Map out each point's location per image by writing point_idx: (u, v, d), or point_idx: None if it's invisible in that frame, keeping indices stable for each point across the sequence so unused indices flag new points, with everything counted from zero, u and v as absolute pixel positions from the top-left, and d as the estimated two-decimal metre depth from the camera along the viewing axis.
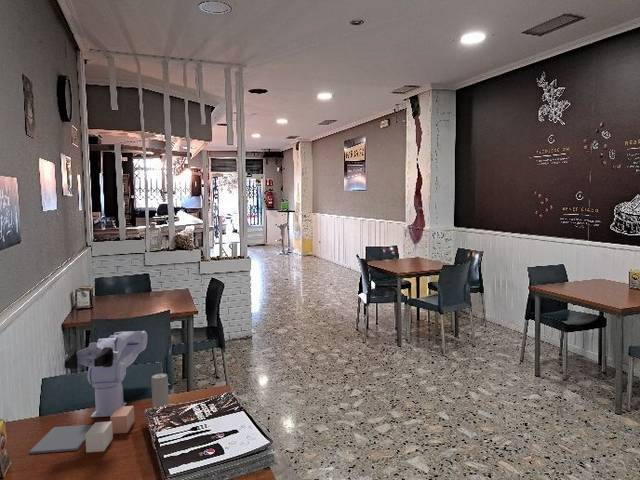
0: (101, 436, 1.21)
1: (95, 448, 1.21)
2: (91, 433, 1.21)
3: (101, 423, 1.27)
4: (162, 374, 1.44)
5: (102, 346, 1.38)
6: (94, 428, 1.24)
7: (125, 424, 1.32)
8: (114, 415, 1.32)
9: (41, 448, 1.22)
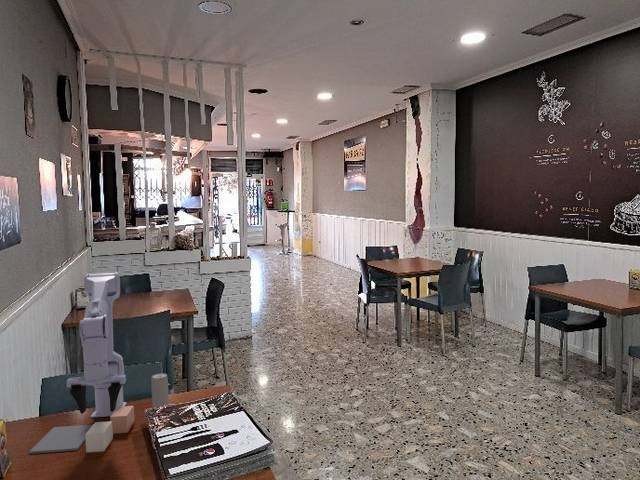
0: (101, 436, 1.21)
1: (95, 448, 1.21)
2: (91, 433, 1.21)
3: (101, 423, 1.27)
4: (162, 374, 1.44)
5: (99, 370, 1.22)
6: (94, 428, 1.24)
7: (125, 424, 1.32)
8: (114, 415, 1.32)
9: (41, 448, 1.22)
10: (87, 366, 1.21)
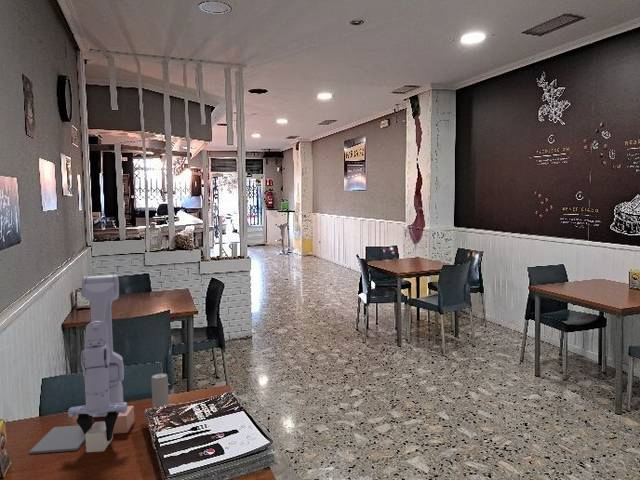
0: (101, 436, 1.21)
1: (95, 448, 1.21)
2: (91, 432, 1.21)
3: (101, 423, 1.27)
4: (162, 374, 1.44)
5: (101, 400, 1.22)
6: (94, 427, 1.24)
7: (125, 424, 1.32)
8: None
9: (41, 448, 1.22)
10: (89, 396, 1.21)
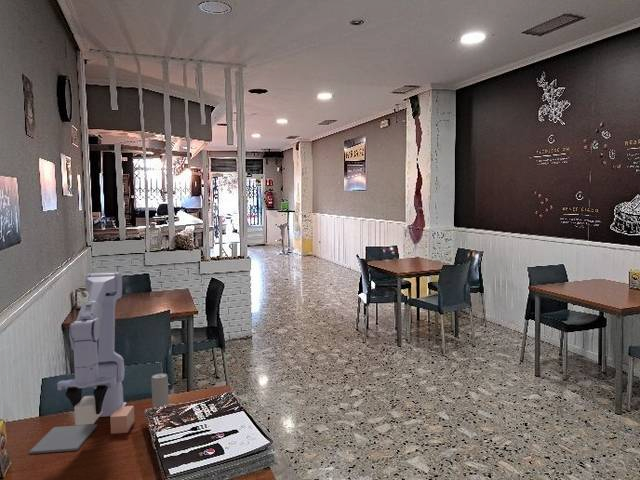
0: (90, 408, 1.22)
1: (84, 420, 1.22)
2: (80, 405, 1.22)
3: (91, 397, 1.27)
4: (162, 374, 1.44)
5: (90, 373, 1.23)
6: (83, 401, 1.25)
7: (125, 424, 1.32)
8: (114, 415, 1.32)
9: (41, 448, 1.22)
10: (78, 369, 1.22)
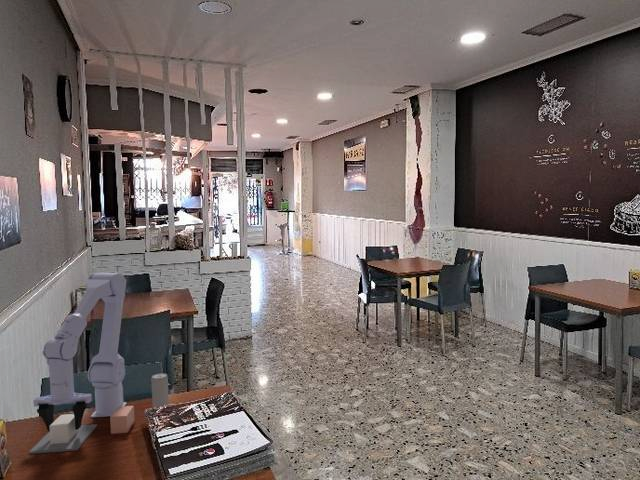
0: (65, 428, 1.25)
1: (59, 439, 1.25)
2: (55, 424, 1.25)
3: (67, 416, 1.31)
4: (162, 374, 1.44)
5: (65, 390, 1.26)
6: (59, 420, 1.28)
7: (125, 424, 1.32)
8: (114, 415, 1.32)
9: (41, 448, 1.22)
10: (53, 386, 1.25)
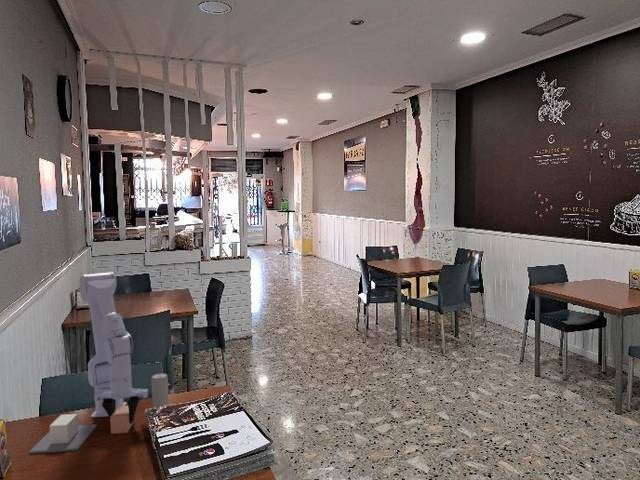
0: (65, 428, 1.25)
1: (59, 439, 1.25)
2: (55, 424, 1.25)
3: (67, 416, 1.31)
4: (162, 374, 1.44)
5: (124, 385, 1.32)
6: (59, 420, 1.28)
7: (125, 424, 1.32)
8: (114, 415, 1.32)
9: (41, 448, 1.22)
10: (113, 381, 1.32)
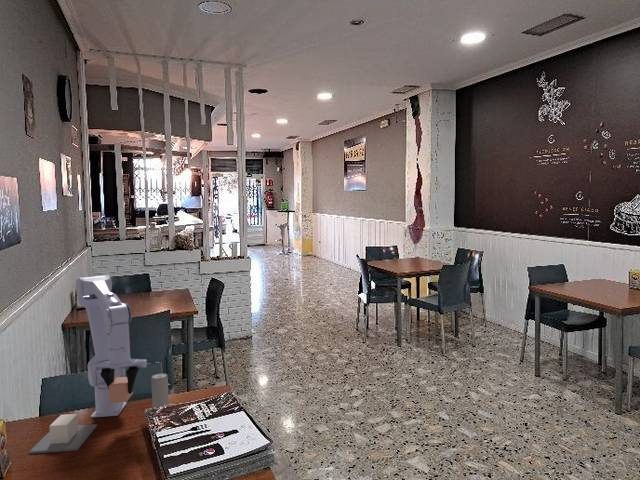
0: (65, 428, 1.25)
1: (59, 439, 1.25)
2: (55, 424, 1.25)
3: (67, 416, 1.31)
4: (162, 374, 1.44)
5: (123, 355, 1.32)
6: (59, 420, 1.28)
7: (124, 393, 1.31)
8: (113, 384, 1.31)
9: (41, 448, 1.22)
10: (111, 351, 1.31)
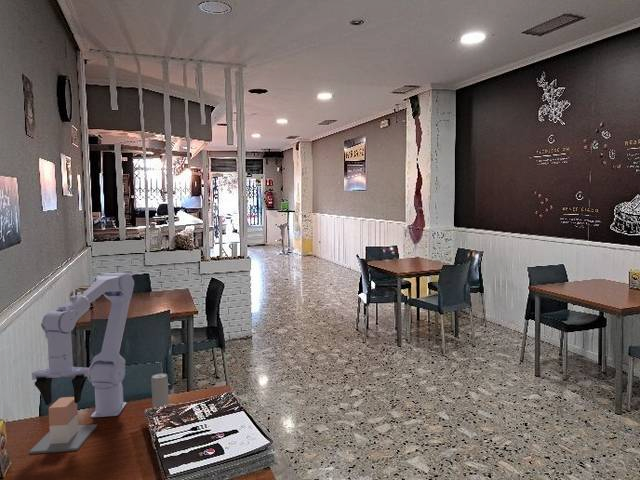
0: (65, 428, 1.25)
1: (59, 439, 1.25)
2: None
3: None
4: (162, 374, 1.44)
5: (63, 363, 1.25)
6: None
7: (64, 415, 1.25)
8: (53, 406, 1.25)
9: (41, 448, 1.22)
10: (51, 359, 1.25)
